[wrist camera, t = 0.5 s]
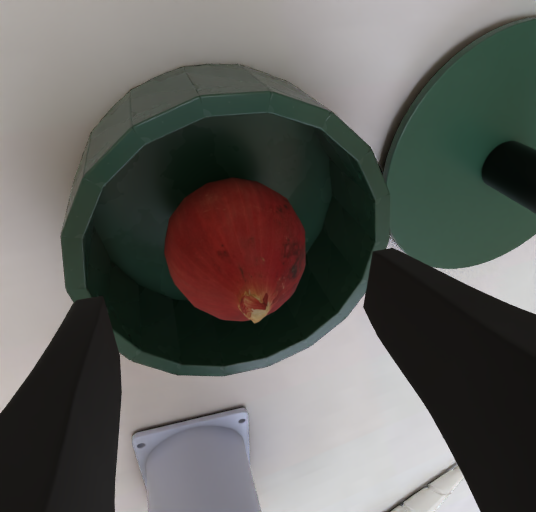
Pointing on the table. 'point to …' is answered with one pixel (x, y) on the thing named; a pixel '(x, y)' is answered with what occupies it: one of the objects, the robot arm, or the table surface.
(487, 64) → the lid
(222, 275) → the onion
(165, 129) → the pot
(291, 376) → the table surface
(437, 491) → the unicorn horn
